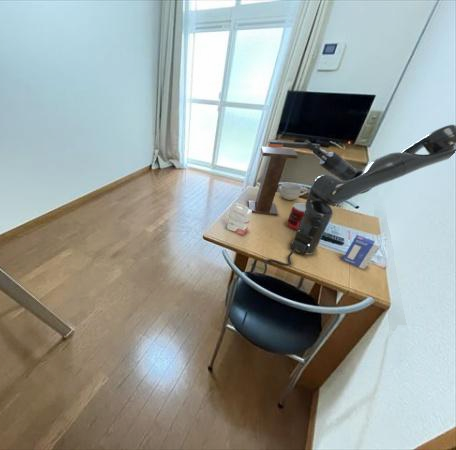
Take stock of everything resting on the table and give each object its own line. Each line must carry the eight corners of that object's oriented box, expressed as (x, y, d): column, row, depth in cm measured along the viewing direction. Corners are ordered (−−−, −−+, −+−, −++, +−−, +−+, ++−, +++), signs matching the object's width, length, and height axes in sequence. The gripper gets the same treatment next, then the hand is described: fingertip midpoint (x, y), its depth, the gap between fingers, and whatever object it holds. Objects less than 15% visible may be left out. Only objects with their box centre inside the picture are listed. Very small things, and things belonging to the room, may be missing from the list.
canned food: (304, 224, 123) (312, 205, 117) (302, 232, 118) (310, 212, 112) (287, 219, 127) (294, 201, 120) (285, 227, 121) (292, 207, 115)
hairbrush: (316, 147, 116) (318, 142, 114) (319, 150, 112) (321, 145, 110) (267, 143, 120) (268, 139, 119) (268, 146, 116) (269, 141, 115)
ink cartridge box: (247, 231, 118) (254, 204, 110) (242, 235, 115) (249, 208, 107) (231, 224, 123) (237, 198, 115) (226, 228, 120) (231, 201, 112)
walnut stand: (274, 204, 139) (293, 148, 121) (278, 215, 130) (298, 156, 112) (247, 201, 142) (261, 145, 124) (248, 212, 133) (263, 153, 115)
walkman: (341, 260, 102) (355, 236, 95) (343, 256, 103) (357, 233, 97) (364, 269, 97) (380, 246, 90) (366, 266, 99) (381, 242, 92)
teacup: (277, 199, 145) (281, 186, 140) (279, 192, 153) (282, 180, 148) (303, 205, 140) (308, 192, 135) (303, 197, 148) (308, 184, 143)
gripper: (336, 152, 119) (308, 131, 117) (347, 162, 108) (317, 139, 106) (322, 164, 123) (295, 145, 121) (331, 175, 112) (302, 153, 110)
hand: (306, 142), depth 113 cm, fingers closed on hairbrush, 2 cm apart
